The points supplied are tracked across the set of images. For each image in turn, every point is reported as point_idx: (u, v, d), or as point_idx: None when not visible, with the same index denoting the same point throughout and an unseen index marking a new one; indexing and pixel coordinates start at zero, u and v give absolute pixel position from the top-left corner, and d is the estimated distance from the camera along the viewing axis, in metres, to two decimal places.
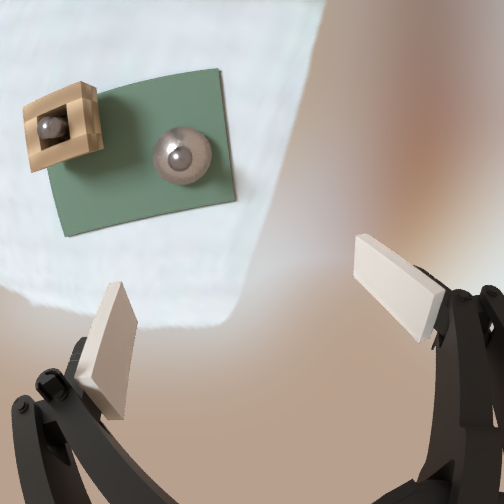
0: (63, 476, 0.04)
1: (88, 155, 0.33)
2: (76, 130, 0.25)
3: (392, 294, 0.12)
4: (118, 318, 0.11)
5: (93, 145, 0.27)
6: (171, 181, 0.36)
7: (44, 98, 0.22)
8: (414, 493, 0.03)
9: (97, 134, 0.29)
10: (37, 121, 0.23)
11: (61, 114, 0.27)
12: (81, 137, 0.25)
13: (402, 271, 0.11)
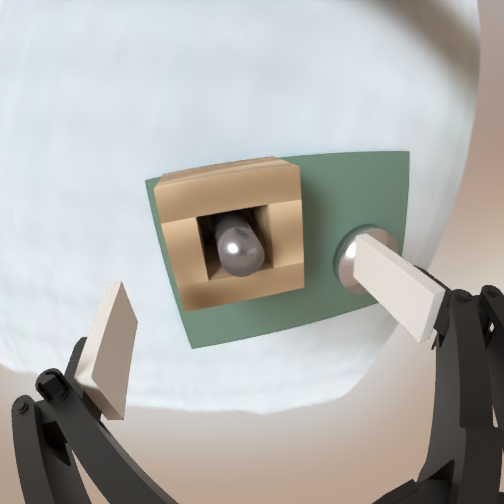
0: (63, 476, 0.04)
1: None
2: (286, 255, 0.19)
3: (392, 294, 0.12)
4: (118, 318, 0.11)
5: None
6: (354, 291, 0.30)
7: (215, 182, 0.16)
8: (414, 493, 0.03)
9: None
10: (196, 225, 0.17)
11: None
12: (294, 266, 0.20)
13: (402, 271, 0.11)
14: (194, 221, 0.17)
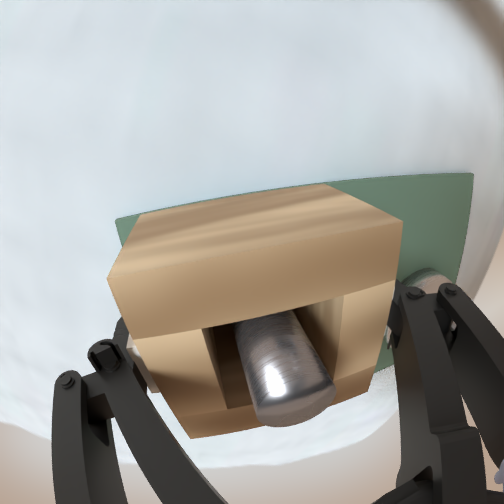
0: (100, 457, 0.06)
1: None
2: (355, 362, 0.10)
3: None
4: None
5: None
6: None
7: (242, 263, 0.07)
8: (414, 493, 0.03)
9: None
10: None
11: None
12: (361, 373, 0.11)
13: None
14: (199, 336, 0.08)
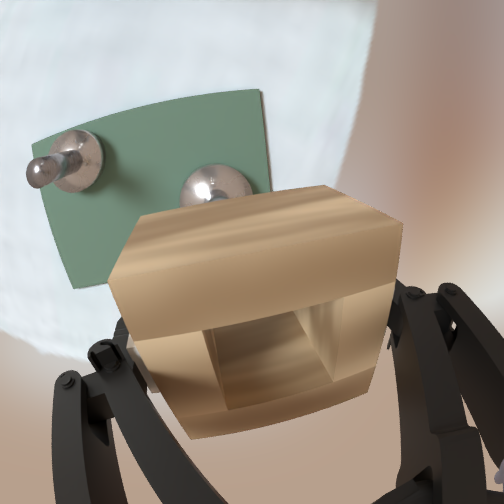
0: (100, 457, 0.06)
1: (96, 196, 0.28)
2: (355, 364, 0.10)
3: None
4: None
5: None
6: None
7: (242, 265, 0.07)
8: (414, 493, 0.03)
9: None
10: (204, 342, 0.08)
11: None
12: (361, 374, 0.11)
13: None
14: (199, 337, 0.08)
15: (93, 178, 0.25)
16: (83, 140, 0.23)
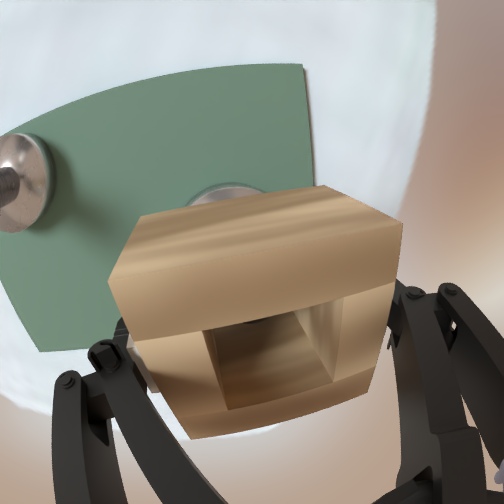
0: (100, 457, 0.06)
1: (48, 235, 0.17)
2: (355, 364, 0.10)
3: None
4: None
5: None
6: None
7: (242, 265, 0.07)
8: (414, 493, 0.03)
9: None
10: (204, 342, 0.08)
11: None
12: (361, 374, 0.11)
13: None
14: (199, 337, 0.08)
15: (36, 211, 0.14)
16: (19, 150, 0.12)
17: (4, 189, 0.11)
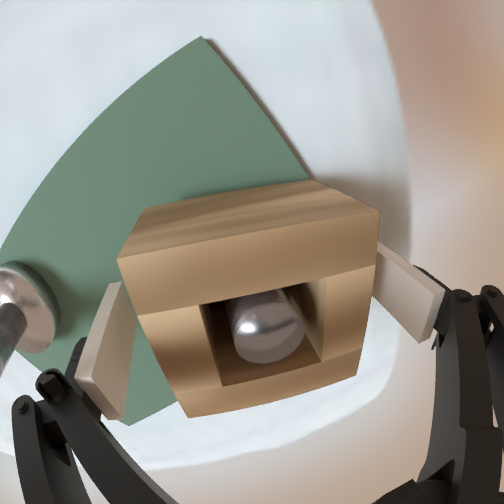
0: (63, 476, 0.04)
1: (75, 335, 0.17)
2: (341, 344, 0.12)
3: (392, 294, 0.12)
4: (118, 318, 0.11)
5: None
6: None
7: (233, 245, 0.08)
8: (414, 493, 0.03)
9: None
10: None
11: None
12: (349, 355, 0.12)
13: (402, 271, 0.11)
14: (196, 311, 0.09)
15: (49, 326, 0.14)
16: (3, 285, 0.13)
17: (10, 327, 0.12)
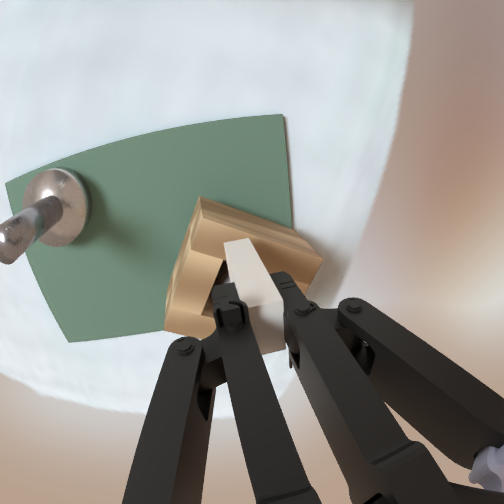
0: (198, 431, 0.07)
1: (84, 248, 0.23)
2: None
3: None
4: None
5: None
6: None
7: (255, 240, 0.18)
8: None
9: None
10: None
11: None
12: None
13: None
14: (220, 262, 0.18)
15: (78, 231, 0.20)
16: (62, 183, 0.18)
17: (53, 215, 0.18)
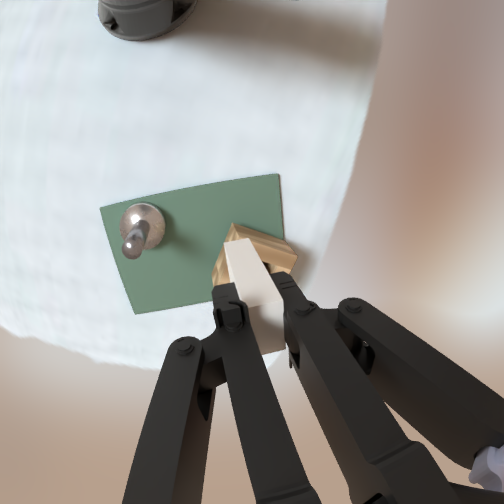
0: (198, 431, 0.07)
1: (158, 250, 0.42)
2: None
3: None
4: None
5: None
6: None
7: (263, 247, 0.37)
8: None
9: None
10: None
11: None
12: None
13: None
14: None
15: (159, 240, 0.40)
16: (150, 213, 0.38)
17: (148, 232, 0.37)
